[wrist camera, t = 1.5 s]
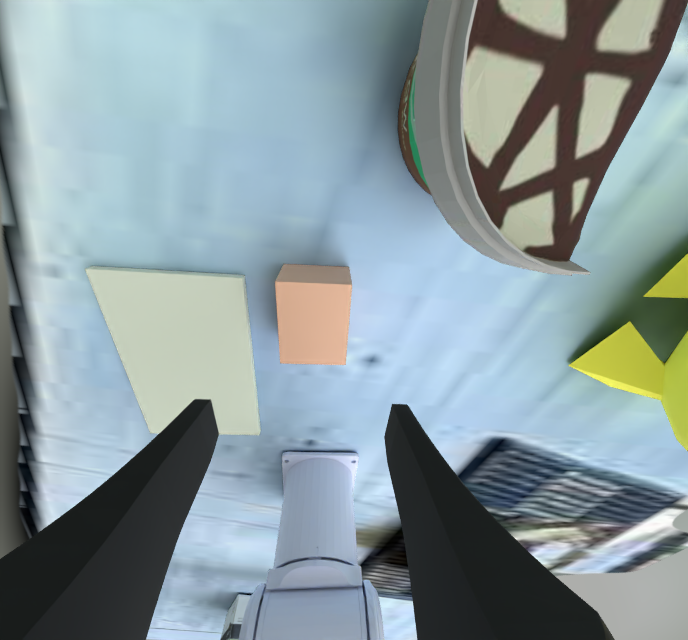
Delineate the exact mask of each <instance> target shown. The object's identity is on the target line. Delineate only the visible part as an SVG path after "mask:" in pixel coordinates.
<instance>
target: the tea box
mask: <svg viewBox="0 0 688 640" xmlns="http://www.w3.org/2000/svg"><path fill="white" fill-rule="evenodd" d="M250 597H251V595H241V594H239V595H238V596H237V598H236V599H235V601H234V602H233V604H232V605H231V607H230V609H229V610H228V613H227V615H226V619H225V623H224V627H223V632H222V636H221V640H239V635H240V630H241V625H242V621H243V617H244V613H245V609H246V606H247V603H248V601H249V598H250Z"/></svg>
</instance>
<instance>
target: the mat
mask: <svg viewBox="0 0 688 640" xmlns="http://www.w3.org/2000/svg"><path fill="white" fill-rule="evenodd" d="M85 271H86V273H87V276H88V278H89V281H90V283H91V286H92V288H93V291H94V293H95V296H96V298H97V301H98V303H99V306H100V308H101V311H102V313H103V316H104V318H105V321H106V323H107V326H108V328H109V331H110V333H111V336H112V338H113V341H114V343H115V346H116V348H117V351H118V353H119V356H120V358H121V361H122V363H123V366H124V368H125V371H126V373H127V376H128V378H129V381H130V383H131V386H132V388H133V391H134V393H135V396H136V398H137V401H138V403H139V406H140V408H141V411H142V413H143V416H144V418H145V421H146V423H147V426H148V428H149V431H150V433H160V432H161V431H163V430H164V429H165V428H166V427H167V426H168V425H169V424H170V423H171V422H172V421H173V420H174V419H175V418H176V417H177V416H178V415H179V414H180V413H181V412H182V411H183V410H184V409H185V408H186V407H187V406H188V405H189V404H190V403H191V402H192V401H193V400H194V399H211V402H212V406H213V410H214V414H215V419H216V423H217V427H218V432H219V435H260V431H261V427H260V417H259V407H258V398H257V388H256V378H255V369H254V359H253V350H252V340H251V330H250V321H249V311H248V301H247V292H246V282H245V275H236V274H219V273H203V272H186V271H169V270H152V269H135V268H119V267H102V266H90V267H88V268H86V269H85Z"/></svg>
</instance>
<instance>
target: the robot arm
mask: <svg viewBox="0 0 688 640" xmlns="http://www.w3.org/2000/svg"><path fill="white" fill-rule="evenodd" d="M218 435H219V432H218V427H217V423H216V419H215V414H214V410H213V406H212V402H211V399H194V400H193V401H192V402H191V403H190V404H189V405H188V406H187V407H186V408H185V409H184V410H183V411H182V412H181V413H180V414H179V415H178V416H177V417H176V418H175V419H174V420H173V421H172V422H171V423H170V424H169V425H168V426H167V427H166V428H165V429H164V430H163V431H161V432H160V433H159V434H158V435H157V436H156V437H155V438H154V439H153V440H152V441H151V442H150V443H149V444H148V445H147V446H146V447H145V448H143V449H142V450H141V451H140V452H139V453H138V454H137V455H136V456H135V457H133V458H132V459H131V460H130V461H129V462H128V463H127V464H125V465H124V466H123V467H122V468H121V469H120V470H119V471H118V472H116V473H115V474H114V475H113V476H112V477H110V478H109V479H108V480H107V481H106V482H104V483H103V484H102V485H101V486H100V487H98V488H97V489H96V490H95V491H93V492H92V493H91V494H90V495H88V496H87V497H86V498H85V499H83V500H82V501H81V502H79V503H78V504H77V505H76V506H74V507H73V508H72V509H70V510H69V511H67V512H66V513H65V514H63V515H62V516H61V517H59V518H58V519H57V520H55V521H54V522H53V523H51V524H50V525H48V526H47V527H46V528H44V529H43V530H42V531H40V532H39V533H37V534H36V535H35V536H33V537H32V538H30V539H29V540H28V541H26V542H25V543H23V544H22V545H20V546H19V547H17V548H16V549H14V550H13V551H11V552H10V553H9V554H7V555H5V556H4V557H2V558H1V559H0V640H146V637H147V634H148V630H149V627H150V624H151V620H152V617H153V613H154V610H155V607H156V604H157V601H158V597H159V594H160V591H161V588H162V585H163V582H164V579H165V575H166V572H167V569H168V566H169V563H170V560H171V557H172V555H173V552H174V549H175V546H176V543H177V540H178V537H179V535H180V532H181V529H182V527H183V524H184V522H185V520H186V517H187V515H188V513H189V510H190V508H191V506H192V503H193V501H194V499H195V497H196V494H197V492H198V490H199V487H200V485H201V483H202V480H203V478H204V476H205V473H206V471H207V469H208V466H209V464H210V461H211V458H212V455H213V452H214V449H215V446H216V442H217V439H218ZM384 437H385V446H386V454H387V462H388V467H389V471H390V476H391V480H392V485H393V489H394V493H395V498H396V502H397V506H398V511H399V515H400V519H401V524H402V529H403V534H404V540H405V547H406V554H407V561H408V568H409V575H410V583H411V590H412V598H413V606H414V614H415V623H416V631H417V639H418V640H614V638H613V636H612V634H611V633H610V631H609V630H608V628H607V627H606V625H605V623H604V622H603V620H602V619H601V617H600V616H599V614H598V612H597V611H595V610H594V609H593V608H592V607H591V606H589V605H588V604H587V603H586V602H585V601H583V600H582V599H581V598H580V597H579V596H578V595H576V594H575V593H574V592H573V591H572V590H571V589H569V588H568V587H567V586H566V585H565V584H563V583H562V582H561V581H560V580H559V579H558V578H556V577H555V576H554V575H553V574H552V573H551V572H550V571H549V570H547V569H546V568H545V567H544V566H543V565H542V564H541V563H540V562H539V561H538V560H537V559H535V558H534V557H533V556H532V555H531V554H530V553H529V552H528V551H527V550H526V549H525V548H524V547H523V546H522V545H521V544H520V543H519V542H518V541H517V540H516V539H515V538H514V537H513V536H512V535H511V534H510V533H509V532H508V531H507V530H506V529H505V528H504V527H503V526H502V525H501V524H500V523H499V522H498V521H497V520H496V519H495V518H494V517H493V516H492V515H491V514H490V513H489V512H488V511H487V510H486V509H485V508H484V506H483V505H482V504H481V503H480V502H479V501H478V500H477V499H476V498H475V496H474V495H473V494H472V493H471V492H470V491H469V490H468V488H467V487H466V486H465V485H464V484H463V482H462V481H461V480H460V479H459V477H458V476H457V475H456V474H455V472H454V471H453V470H452V469H451V467H450V466H449V465H448V463H447V462H446V461H445V459H444V458H443V457H442V455H441V454H440V453H439V451H438V450H437V449H436V447H435V446H434V444H433V443H432V442H431V440H430V439H429V437H428V436H427V434H426V433H425V431H424V430H423V428H422V427H421V425H420V424H419V422H418V421H417V419H416V417H415V416H414V414H413V413H412V411H411V410H410V408H409V406H408V405H405V404H392V407H391V411H390V415H389V419H388V424H387V428H386V432H385V436H384ZM358 460H359V456H358V454H357V453H331V452H284V453H283V454H282V471H283V491H284V498H283V505H282V512H281V519H280V526H279V533H278V540H277V546H276V553H275V560H274V567H273V569H269V570H268V576H267V582H266V584H260V585H259V586H258V587H257V588H256V590H255V592H254V593H253V594H252V595H251V597H250V598H249V601H248V603H247V606H246V609H245V613H244V617H243V621H242V625H241V630H240V635H239V640H384V631H383V622H382V615H381V608H380V602H379V597H378V593H377V591H376V589H375V588H374V587H373V585H372V584H371V582H370V581H369V580H363V581H362V573H361V566H358V561H357V546H356V530H355V515H354V500H353V490H354V484H355V478H356V472H357V466H358Z"/></svg>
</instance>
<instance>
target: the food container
mask: <svg viewBox="0 0 688 640" xmlns="http://www.w3.org/2000/svg"><path fill="white" fill-rule="evenodd" d="M687 3H688V0H429V2H428V5H427V9H426V12H425V16H424V19H423V25H422V32H421V38H420V44H419V50H418V53H417V55H416V57H415V59H414V61H413V63H412V64H411V66H410V68H409V71H408V75H407V78H406V81H405V84H404V87H403V90H402V94H401V98H400V104H399V111H398V135H399V144H400V148H401V152H402V155H403V159H404V161H405V163H406V166H407V168H408V170H409V172H410V173H411V175H412V176H413V178H414V179H415V181H416V182H417V183H418V184H419V185H420V186H421V187H422V188H423V189H424V190H425V191H426V192H427V193H429V194H430V195H432V197H433V199H434V202H435V204H436V205H437V207H438V208H439V210H440V212H441V213H442V215H443V216H444V218H445V220H446V221H447V223H448V224H449V225H450V226H451V227H452V229H453V230H454V231H455V232H456V233H457V234H458V235H459V236H460V237H461V238H462V239H463V240H464V241H465V242H466V243H467V244H469V245H470V246H472V247H473V248H474V249H476V250H477V251H478V252H480V253H481V254H483V255H485V256H487V257H489V258H492V259H494V260H496V261H498V262H500V263H503V264H507V265H511V266H515V267H519V268H523V269H528V270H533V271H538V272H543V273H549V274H560V275H571V276H572V274H585V275H590V273H591V272H589V271H587V270H585V269H584V268H582V267H580V266H579V265H577V264H575V263H573V262H572V261H570V260H569V259H570V257H571V255H572V253H573V250H574V248H575V246H576V245H577V243H578V241H579V239H580V235H581V230H582V227H583V224H584V222H585V219H586V216H587V213H588V211H589V209H590V207H591V204H592V202H593V200H594V198H595V195H596V193H597V191H598V189H599V186H600V184H601V182H602V180H603V177H604V175H605V173H606V171H607V169H608V167H609V165H610V163H611V161H612V160H613V158H614V156H615V154H616V152H617V151H618V149H619V147H620V145H621V143H622V142H623V140H624V138H625V136H626V134H627V133H628V131H629V129H630V127H631V125H632V123H633V122H634V120H635V118H636V116H637V114H638V113H639V111H640V109H641V107H642V105H643V104H644V102H645V100H646V98H647V96H648V94H649V92H650V90H651V88H652V86H653V84H654V82H655V80H656V78H657V76H658V75H659V73H660V71H661V69H662V67H663V65H664V63H665V61H666V59H667V57H668V54H669V52H670V50H671V47H672V44H673V41H674V38H675V36H676V33H677V30H678V28H679V25H680V22H681V20H682V17H683V14H684V12H685V9H686V6H687Z"/></svg>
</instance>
